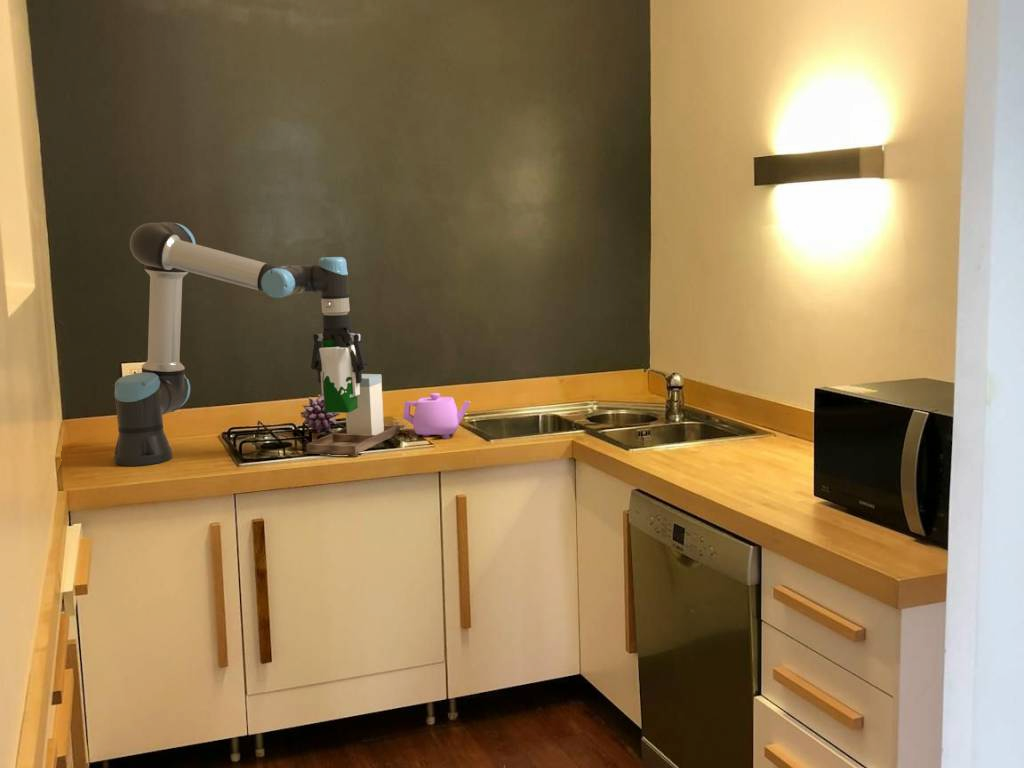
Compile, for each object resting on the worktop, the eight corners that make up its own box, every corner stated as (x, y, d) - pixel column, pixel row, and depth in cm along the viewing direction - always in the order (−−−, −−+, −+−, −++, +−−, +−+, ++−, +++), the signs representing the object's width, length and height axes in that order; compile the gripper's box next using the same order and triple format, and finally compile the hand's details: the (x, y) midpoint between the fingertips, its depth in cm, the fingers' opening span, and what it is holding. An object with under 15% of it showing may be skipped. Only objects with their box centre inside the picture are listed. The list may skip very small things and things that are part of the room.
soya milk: (331, 407, 300) (327, 337, 297) (362, 407, 298) (358, 336, 295) (320, 413, 292) (315, 341, 289) (351, 413, 290) (347, 340, 287)
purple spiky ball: (293, 436, 318) (291, 397, 316) (314, 428, 329) (312, 390, 327) (327, 438, 314) (325, 398, 312) (347, 430, 325) (345, 392, 323)
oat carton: (347, 439, 307) (343, 378, 305) (359, 433, 315) (356, 373, 312) (372, 440, 305) (369, 378, 302) (384, 434, 312) (381, 374, 310)
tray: (306, 454, 292) (306, 444, 292) (354, 433, 319) (354, 423, 319) (355, 457, 287) (355, 446, 287) (400, 435, 315) (399, 425, 314)
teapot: (401, 441, 307) (399, 397, 305) (406, 432, 319) (404, 390, 317) (470, 439, 306) (468, 396, 304) (473, 430, 318) (471, 389, 316)
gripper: (294, 315, 291) (299, 396, 294) (365, 314, 284) (370, 397, 287) (307, 312, 298) (312, 391, 301) (377, 312, 291) (382, 393, 294)
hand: (340, 394), depth 294 cm, fingers closed on soya milk, 9 cm apart
